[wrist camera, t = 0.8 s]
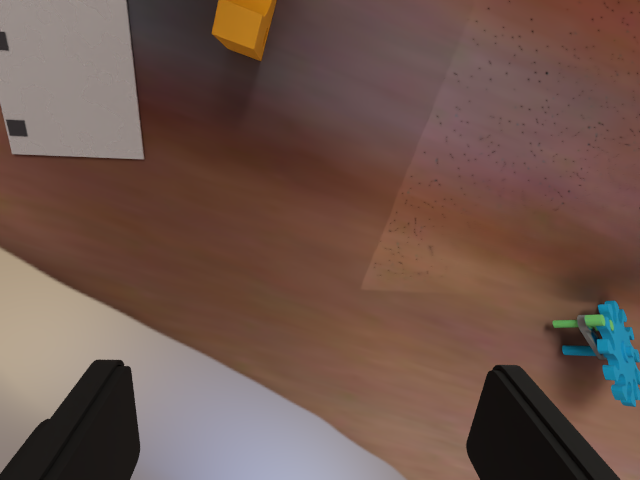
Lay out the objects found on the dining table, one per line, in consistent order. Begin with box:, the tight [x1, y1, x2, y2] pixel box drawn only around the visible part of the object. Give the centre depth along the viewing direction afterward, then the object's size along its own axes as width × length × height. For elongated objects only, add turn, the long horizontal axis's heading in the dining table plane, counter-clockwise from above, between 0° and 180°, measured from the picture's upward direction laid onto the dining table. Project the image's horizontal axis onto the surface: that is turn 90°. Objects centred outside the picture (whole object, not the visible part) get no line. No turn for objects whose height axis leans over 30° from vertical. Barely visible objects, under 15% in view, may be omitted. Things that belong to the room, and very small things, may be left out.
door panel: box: [0, 0, 145, 159], centre depth 26 cm, size 16×10×1 cm, turn 177°
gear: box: [553, 301, 640, 407], centre depth 37 cm, size 11×6×10 cm
